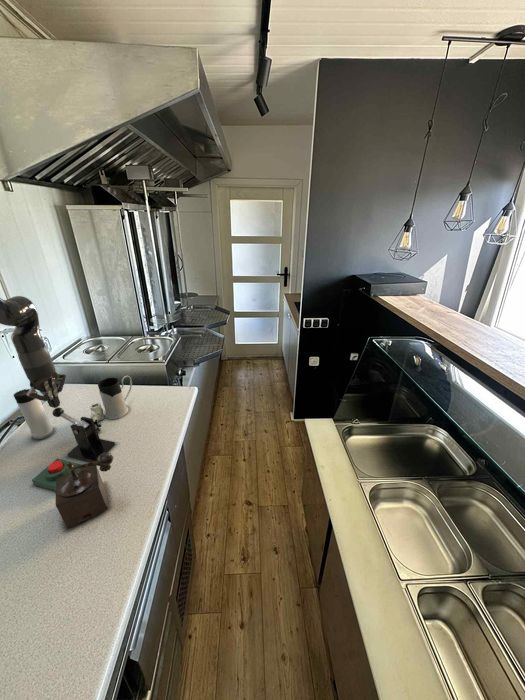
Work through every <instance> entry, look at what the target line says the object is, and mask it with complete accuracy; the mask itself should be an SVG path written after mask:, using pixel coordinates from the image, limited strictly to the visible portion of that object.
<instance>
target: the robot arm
mask: <svg viewBox="0 0 525 700" xmlns="http://www.w3.org/2000/svg"><path fill="white" fill-rule="evenodd" d="M0 325H2V326H6V327H7V326H8V327H14V330H13V331H12V333H11V335H10V340H11V342H12V345H13V347H14V349H15V351H16V353H17V357H18V361H19V363H20V365H21V367H22V369H23V371H24V374H25V376H26V378H27V380H28V381H29V387H30V388H29V389H30V390H29V392H26V393H25V395H26V396H29V397H32V398H35V399H38V400H40V401H43V402H47V404H48V406H49V407H50V408H53V409H55V408H59V407H60V406H61V400H60V398H59V394H60V393H62V391H63V389H64V385H65V381H66V378H67V375H66V374H63V373H58V372H57V371H56V366H55V363H54V361H53V359H52V356H51V353H50V351H49V349H48V348H47V346H46V344H45V342H44V340H43V337H42V335H41V332H40V330H41V329H40V320H39V312H38V310H37V307H36V305H35V304H34V303H33V301H32V300H31V299H29V298H27V296H23V295H15V296H12V297H9V298H8V299H2V298H1V297H0ZM38 391H39V392H40V394H38ZM41 394H42V395H41Z"/></svg>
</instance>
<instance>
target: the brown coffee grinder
mask: <svg viewBox="0 0 525 700" xmlns="http://www.w3.org/2000/svg"><path fill="white" fill-rule="evenodd" d="M113 460H114V456H113V455H112V453H111V452H107V453H102V454H100V455H99V456H98V458H97V462H86V463H80V464H81V465H77V466H73V465H72V463H71V462H72V461H70V462H69V463H67V467H68V471H70V472H71V473H69V474H66V475H63V476H61V477H58V478H56V491H55V507H56V509H57V510H58V513H59V515H60V517H61V518H62V520H63V522H64V524H65V526H66V528H67V529H70V528H72V527H74V526H77V525H79V524H81V523H83V522H87V521H88V520H90V519H92V518H94V517H95V516H97V515H99V514H101V513H103V512H105V511H106V510H108V508H109V501H108V493H107V488H106V485H105V483H104V481H103V479H102V477H101V474H100V472H99V471H101V472H108V471H110V470H111V467H112V463H113ZM98 467H99V469H98ZM79 468H81V469H79ZM74 469H79V470H76V471H74Z"/></svg>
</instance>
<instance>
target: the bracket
mask: <svg viewBox="0 0 525 700" xmlns="http://www.w3.org/2000/svg"><path fill="white" fill-rule="evenodd" d="M79 419H80V422H81V421H82V420H83V421H85V422H87V423H88V424H89V429H88V430H87V431H85V430H84V427H83V426H79V425H75V424H73V423H71V425H70V426H69V427H70V430H71V431H72V434H73V437H74V439H75V441H76V444H77V445H76V446H75V447H73V448H72V449H71V450H70V451H69V452H68V453H67V457H69V458H72V459H76V460H81V461H85V462H87V463H91V462H97V458H98V456H99V455H100V454H102V453H109V451H111V449H113V448H114V446H115V445H116V443H115V441H112V440H107V439H103V438H100V435H99V433H98V431H97V430H96V428H97V426H95V424H94V421H93V419H92V418H91V417H86V416H81V417H80V418H79Z"/></svg>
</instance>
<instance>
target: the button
mask: <svg viewBox="0 0 525 700" xmlns="http://www.w3.org/2000/svg"><path fill="white" fill-rule="evenodd" d="M54 461H55V460H54ZM54 461H52V462H53V463H52V462H51V463H49V465H48V466H47V467H48V469H49V471H50V473H51V474H54V473H57V472H59V471H61V470H62V469H63V464H62V462H61V461H55V462H54Z"/></svg>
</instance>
